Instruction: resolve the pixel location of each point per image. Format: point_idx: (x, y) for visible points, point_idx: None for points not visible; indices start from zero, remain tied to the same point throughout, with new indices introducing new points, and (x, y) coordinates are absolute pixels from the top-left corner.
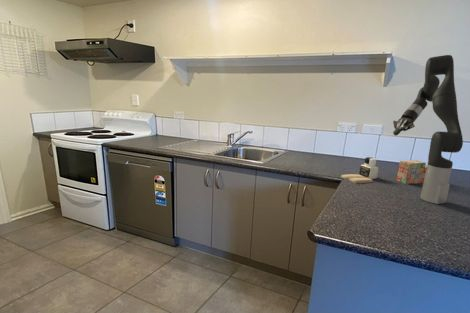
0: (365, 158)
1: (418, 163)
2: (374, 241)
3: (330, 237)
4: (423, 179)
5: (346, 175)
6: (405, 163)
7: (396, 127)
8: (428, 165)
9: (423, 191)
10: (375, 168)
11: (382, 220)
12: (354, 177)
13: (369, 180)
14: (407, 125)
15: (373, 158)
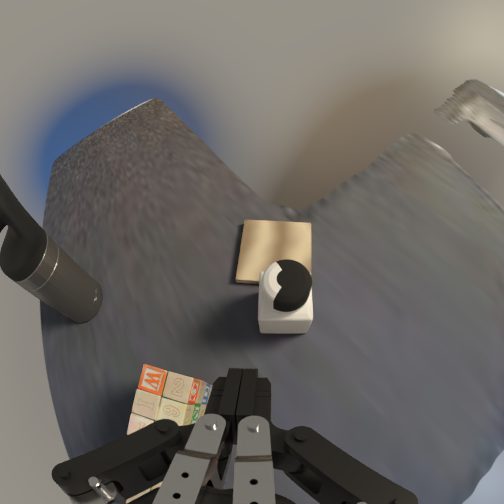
0: (300, 263)
1: (131, 417)
2: (111, 126)
3: (141, 104)
4: None
5: (302, 233)
6: (162, 369)
7: (265, 424)
8: (46, 233)
9: (86, 272)
10: (258, 302)
11: (118, 153)
12: (277, 241)
13: (238, 266)
14: (120, 458)
15: (275, 283)
